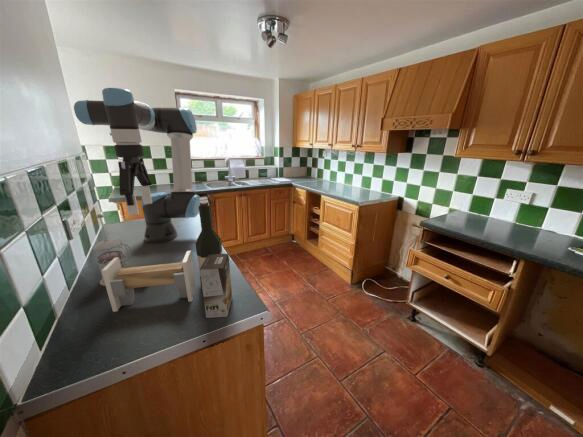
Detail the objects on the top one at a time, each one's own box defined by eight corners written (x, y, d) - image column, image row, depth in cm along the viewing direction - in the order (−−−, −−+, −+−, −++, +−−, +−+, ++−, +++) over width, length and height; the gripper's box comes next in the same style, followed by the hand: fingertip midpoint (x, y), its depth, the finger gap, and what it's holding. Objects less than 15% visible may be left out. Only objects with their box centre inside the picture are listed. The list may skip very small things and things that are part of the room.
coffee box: (228, 317, 70) (223, 268, 65) (205, 318, 69) (198, 269, 64) (232, 297, 78) (228, 253, 73) (212, 298, 78) (207, 253, 73)
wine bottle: (203, 293, 80) (191, 207, 71) (199, 281, 87) (188, 201, 78) (227, 286, 84) (219, 204, 74) (222, 275, 91) (214, 198, 81)
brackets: (124, 295, 79) (114, 257, 75) (196, 286, 84) (190, 250, 79) (113, 311, 72) (101, 270, 67) (192, 301, 76) (186, 262, 72)
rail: (125, 282, 76) (121, 268, 74) (186, 275, 80) (183, 262, 78) (119, 289, 72) (116, 275, 71) (183, 282, 76) (181, 268, 74)
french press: (93, 282, 86) (73, 216, 78) (124, 267, 97) (110, 207, 89) (111, 288, 83) (92, 220, 75) (142, 272, 93) (128, 210, 85)
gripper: (130, 142, 86) (142, 200, 93) (93, 145, 63) (112, 221, 70) (153, 142, 88) (163, 199, 95) (125, 145, 65) (141, 219, 72)
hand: (141, 208), depth 82 cm, fingers open, 13 cm apart
